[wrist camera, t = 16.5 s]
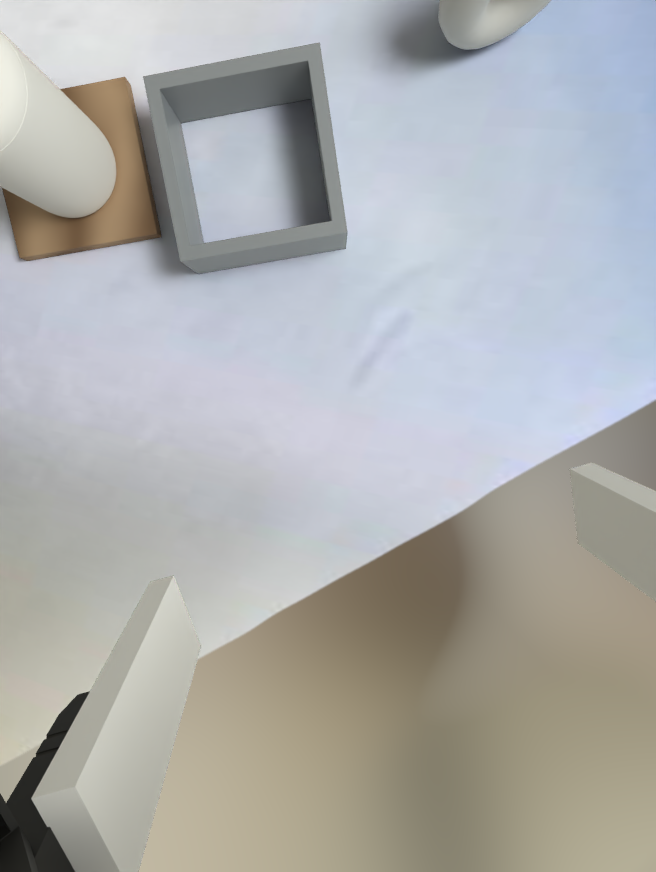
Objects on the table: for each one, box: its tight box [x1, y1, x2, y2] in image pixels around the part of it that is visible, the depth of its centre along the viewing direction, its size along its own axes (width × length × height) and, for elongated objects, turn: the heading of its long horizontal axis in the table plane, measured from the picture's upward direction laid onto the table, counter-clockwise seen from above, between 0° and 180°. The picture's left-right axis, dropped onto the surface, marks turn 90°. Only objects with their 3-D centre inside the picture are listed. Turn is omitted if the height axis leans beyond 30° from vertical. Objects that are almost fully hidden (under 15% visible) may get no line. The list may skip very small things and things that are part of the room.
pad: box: [2, 77, 162, 261], centre depth 37 cm, size 12×12×1 cm
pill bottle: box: [0, 31, 116, 218], centre depth 29 cm, size 8×8×15 cm
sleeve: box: [143, 43, 347, 274], centre depth 35 cm, size 13×13×4 cm
